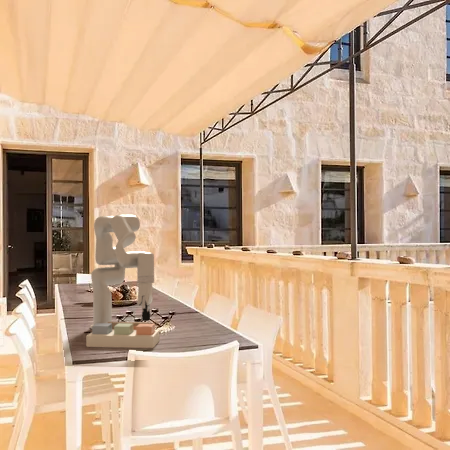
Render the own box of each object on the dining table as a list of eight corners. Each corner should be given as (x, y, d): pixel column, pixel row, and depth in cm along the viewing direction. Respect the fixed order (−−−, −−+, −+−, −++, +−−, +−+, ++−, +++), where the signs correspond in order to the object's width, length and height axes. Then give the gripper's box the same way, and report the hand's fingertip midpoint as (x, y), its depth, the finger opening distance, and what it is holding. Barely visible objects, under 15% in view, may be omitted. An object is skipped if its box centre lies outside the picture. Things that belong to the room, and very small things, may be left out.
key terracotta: (136, 335, 227) (136, 326, 227) (139, 332, 234) (139, 323, 234) (151, 335, 227) (151, 326, 227) (154, 332, 234) (154, 323, 234)
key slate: (92, 334, 228) (92, 326, 228) (97, 331, 235) (97, 323, 235) (107, 335, 228) (107, 326, 228) (112, 331, 235) (112, 323, 235)
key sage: (114, 335, 228) (114, 326, 228) (118, 332, 235) (118, 323, 235) (129, 335, 227) (129, 326, 227) (133, 332, 234) (133, 323, 234)
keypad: (86, 346, 225) (86, 328, 225) (98, 338, 241) (98, 321, 241) (153, 347, 223) (153, 329, 223) (160, 339, 240) (160, 322, 240)
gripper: (141, 278, 238) (141, 317, 238) (133, 281, 223) (133, 323, 223) (157, 278, 237) (157, 317, 237) (150, 281, 223) (150, 323, 222)
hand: (146, 320), depth 230 cm, fingers closed
